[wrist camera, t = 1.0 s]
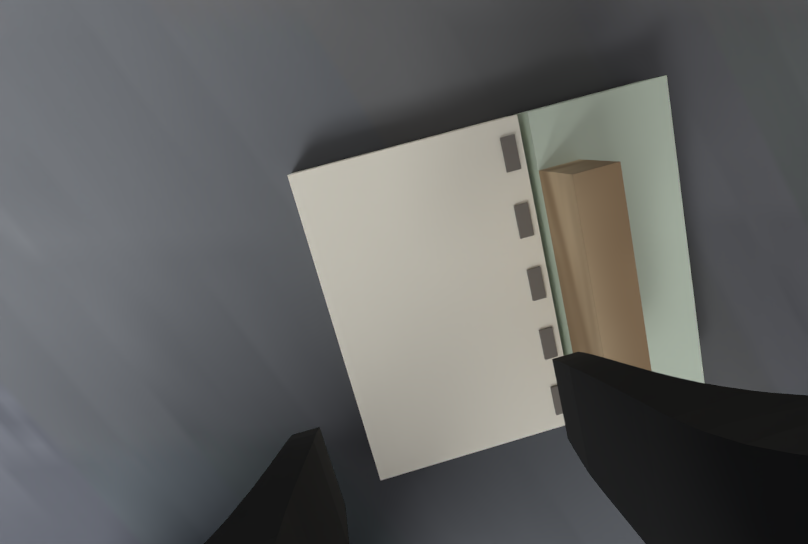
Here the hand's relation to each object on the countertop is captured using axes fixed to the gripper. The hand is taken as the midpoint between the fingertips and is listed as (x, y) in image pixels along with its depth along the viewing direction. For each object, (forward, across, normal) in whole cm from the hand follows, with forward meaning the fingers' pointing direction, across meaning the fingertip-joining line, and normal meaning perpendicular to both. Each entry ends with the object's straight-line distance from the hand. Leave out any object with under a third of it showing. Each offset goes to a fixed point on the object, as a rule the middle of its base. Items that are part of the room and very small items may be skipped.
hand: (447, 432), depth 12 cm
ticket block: (+9, -2, 0) cm, 10 cm away
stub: (+9, -8, 0) cm, 12 cm away
